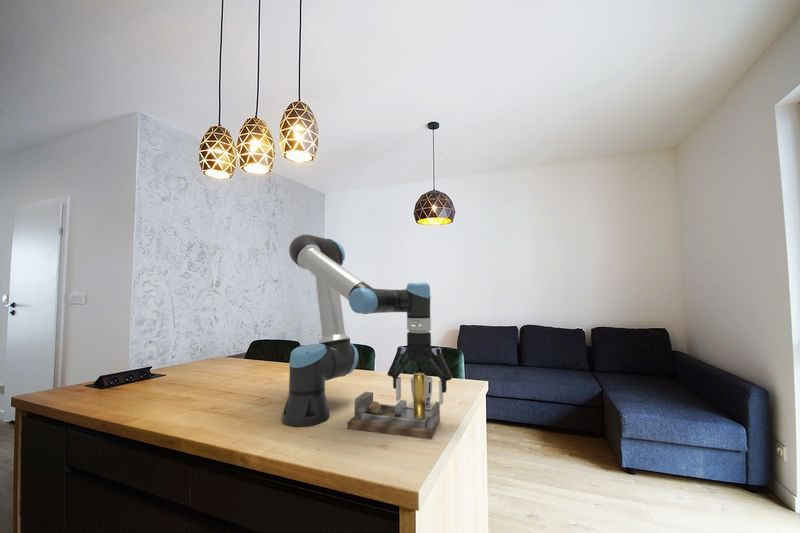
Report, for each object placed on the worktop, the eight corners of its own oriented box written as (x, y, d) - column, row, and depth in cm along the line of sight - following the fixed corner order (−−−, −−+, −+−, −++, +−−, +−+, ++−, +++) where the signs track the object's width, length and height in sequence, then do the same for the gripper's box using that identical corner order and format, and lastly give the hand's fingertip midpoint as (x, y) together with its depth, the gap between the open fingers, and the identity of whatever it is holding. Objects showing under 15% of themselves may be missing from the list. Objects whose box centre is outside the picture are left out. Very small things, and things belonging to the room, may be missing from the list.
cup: (431, 410, 112) (431, 381, 113) (409, 408, 113) (409, 380, 115) (433, 403, 120) (433, 376, 121) (412, 401, 121) (412, 375, 122)
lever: (394, 421, 95) (394, 375, 97) (401, 413, 102) (401, 370, 104) (426, 425, 92) (426, 377, 94) (431, 416, 99) (431, 372, 101)
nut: (366, 416, 100) (366, 402, 100) (371, 411, 103) (371, 399, 104) (378, 417, 99) (378, 404, 99) (382, 413, 102) (382, 400, 103)
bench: (347, 428, 96) (347, 401, 97) (365, 413, 109) (365, 389, 110) (431, 439, 88) (430, 409, 89) (439, 421, 102) (439, 395, 103)
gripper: (377, 331, 100) (377, 401, 97) (457, 333, 92) (458, 409, 90) (385, 329, 107) (385, 394, 104) (460, 331, 100) (461, 401, 97)
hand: (419, 401), depth 97 cm, fingers open, 13 cm apart
